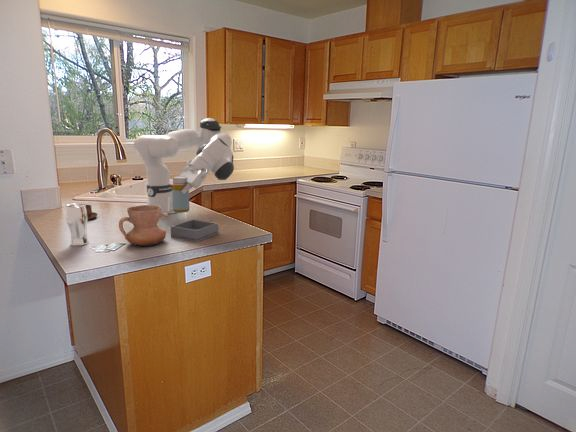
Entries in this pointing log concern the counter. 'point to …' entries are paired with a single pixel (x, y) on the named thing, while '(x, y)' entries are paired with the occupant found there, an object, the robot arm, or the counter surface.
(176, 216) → the counter surface
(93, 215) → the cup and saucer
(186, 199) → the bottle
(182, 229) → the box
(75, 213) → the beer glass
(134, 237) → the ceramic jug
